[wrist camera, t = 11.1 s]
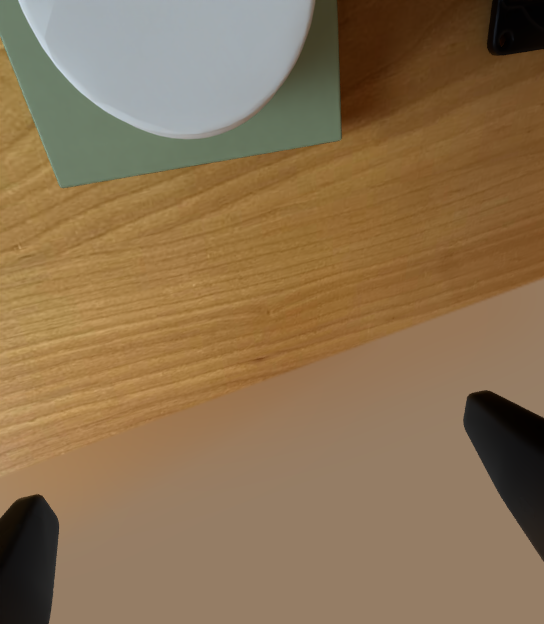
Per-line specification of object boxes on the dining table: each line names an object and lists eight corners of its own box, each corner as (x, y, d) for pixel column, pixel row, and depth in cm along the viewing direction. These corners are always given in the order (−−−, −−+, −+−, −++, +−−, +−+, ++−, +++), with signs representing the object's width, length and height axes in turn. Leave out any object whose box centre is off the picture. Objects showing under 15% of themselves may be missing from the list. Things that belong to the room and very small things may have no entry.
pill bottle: (251, 120, 14) (317, 178, 7) (102, 103, 13) (8, 152, 6) (266, -63, 12) (389, -245, 5) (87, -100, 11) (-95, -404, 4)
